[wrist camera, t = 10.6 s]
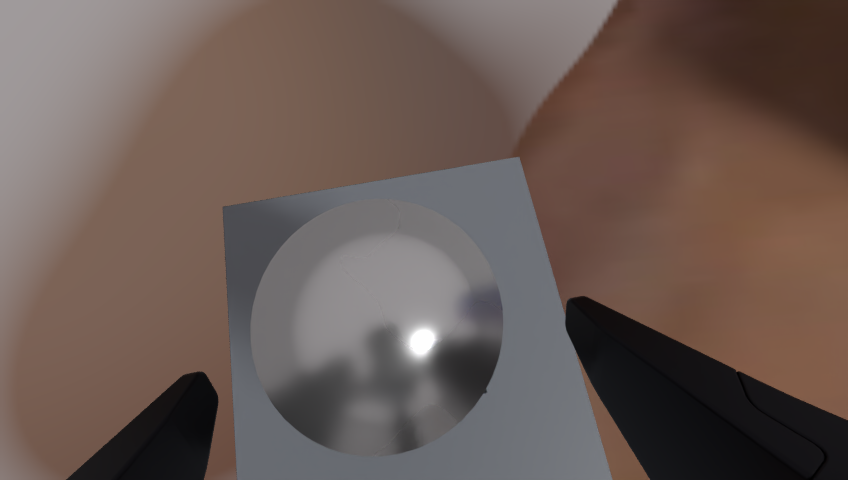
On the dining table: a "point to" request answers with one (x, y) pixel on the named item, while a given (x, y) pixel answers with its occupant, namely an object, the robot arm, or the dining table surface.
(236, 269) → the jig
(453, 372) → the tall grey cylinder
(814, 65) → the dining table surface
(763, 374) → the dining table surface
